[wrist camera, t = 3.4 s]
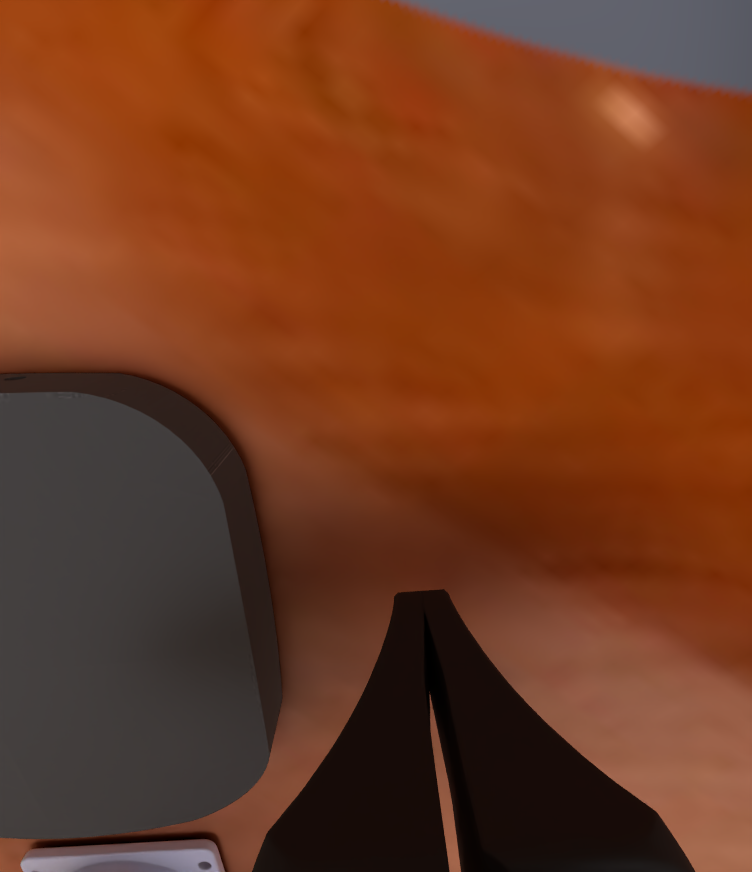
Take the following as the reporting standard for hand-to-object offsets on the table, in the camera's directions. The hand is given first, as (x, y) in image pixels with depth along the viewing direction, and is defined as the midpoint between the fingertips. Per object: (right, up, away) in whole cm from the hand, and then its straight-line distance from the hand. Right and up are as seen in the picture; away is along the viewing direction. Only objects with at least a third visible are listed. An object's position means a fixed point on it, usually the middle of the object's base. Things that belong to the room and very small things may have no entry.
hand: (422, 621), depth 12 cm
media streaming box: (-12, 0, +3) cm, 12 cm away
